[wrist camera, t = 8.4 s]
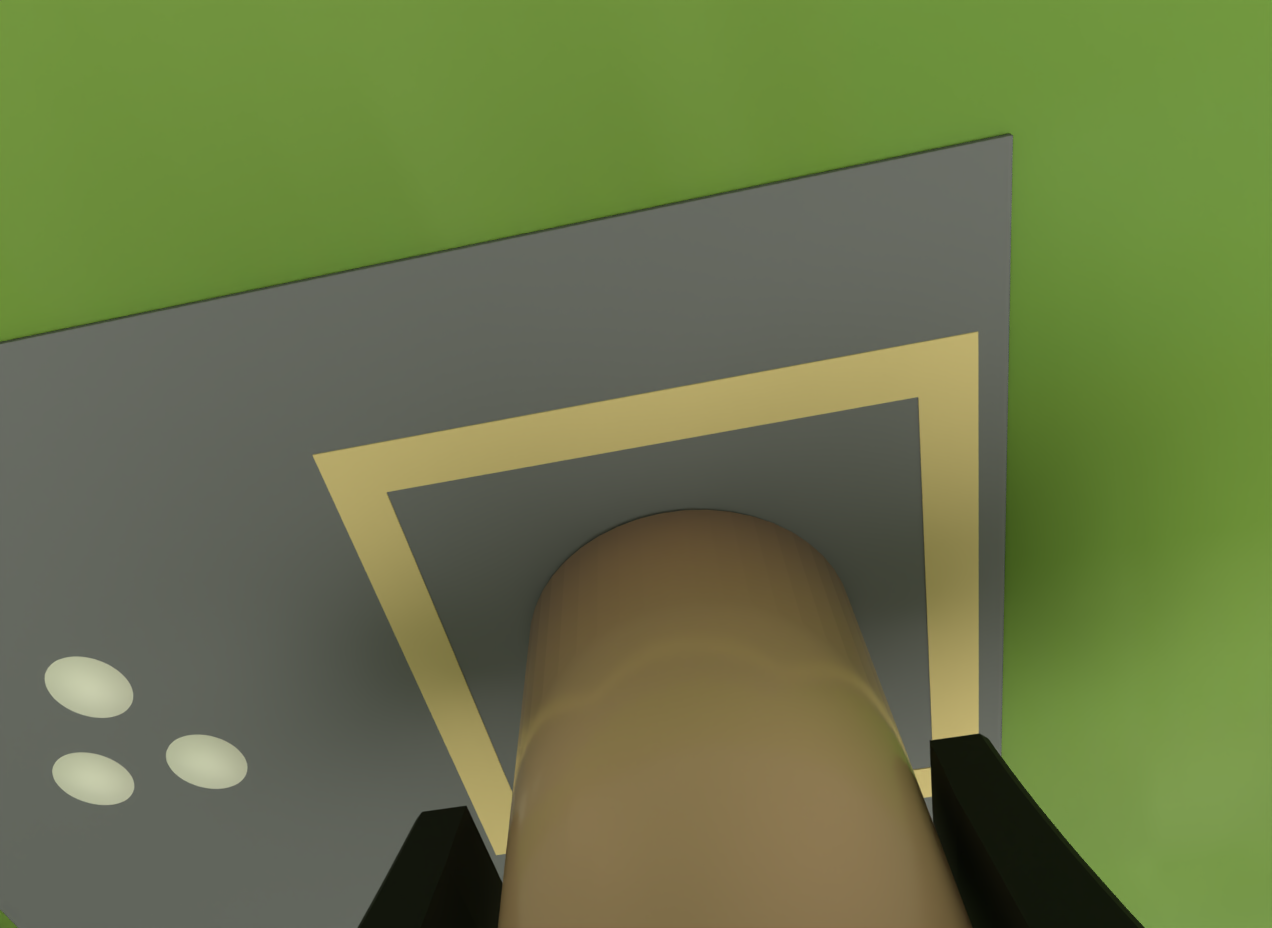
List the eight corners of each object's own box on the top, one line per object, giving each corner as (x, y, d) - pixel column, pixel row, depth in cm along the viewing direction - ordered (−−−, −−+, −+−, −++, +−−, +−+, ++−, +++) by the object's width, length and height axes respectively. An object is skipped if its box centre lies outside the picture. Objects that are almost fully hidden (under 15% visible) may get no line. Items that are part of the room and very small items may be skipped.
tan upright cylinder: (572, 776, 16) (554, 1240, 10) (489, 545, 13) (402, 1000, 7) (863, 728, 15) (1014, 1183, 10) (838, 479, 13) (1028, 906, 7)
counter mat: (83, 959, 20) (70, 982, 19) (-424, 422, 13) (-463, 440, 12) (990, 842, 18) (999, 867, 17) (997, 126, 11) (1012, 136, 10)
